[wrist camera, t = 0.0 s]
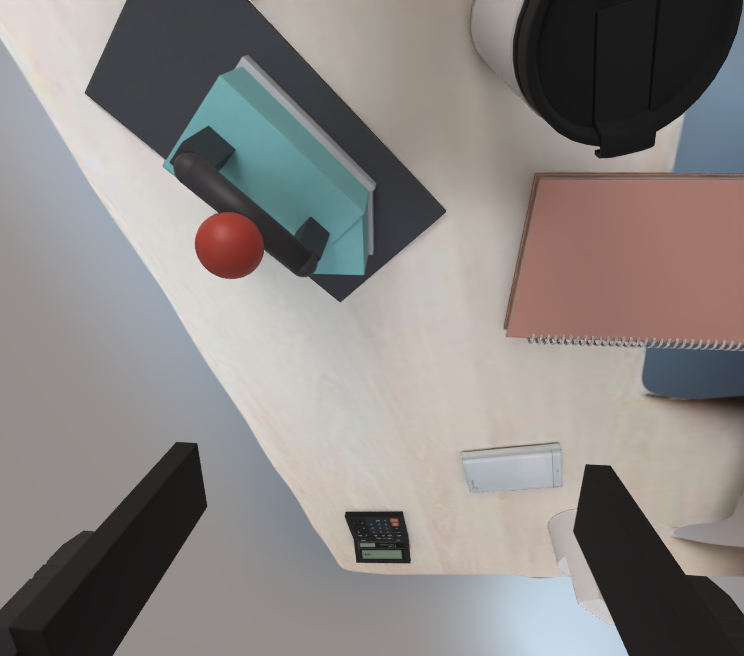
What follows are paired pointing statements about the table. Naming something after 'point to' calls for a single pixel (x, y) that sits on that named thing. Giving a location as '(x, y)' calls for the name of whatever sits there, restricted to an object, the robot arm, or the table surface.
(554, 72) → the travel mug
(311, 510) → the table surface
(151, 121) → the ironing mat
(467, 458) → the hard drive
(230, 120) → the iron
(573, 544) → the cylinder with rectangular tab
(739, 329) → the notebook
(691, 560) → the table surface
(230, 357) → the table surface
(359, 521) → the calculator
